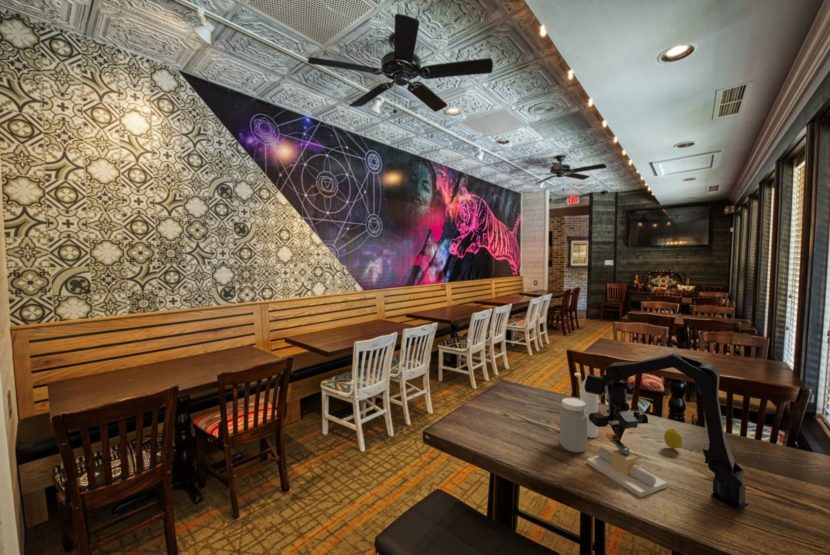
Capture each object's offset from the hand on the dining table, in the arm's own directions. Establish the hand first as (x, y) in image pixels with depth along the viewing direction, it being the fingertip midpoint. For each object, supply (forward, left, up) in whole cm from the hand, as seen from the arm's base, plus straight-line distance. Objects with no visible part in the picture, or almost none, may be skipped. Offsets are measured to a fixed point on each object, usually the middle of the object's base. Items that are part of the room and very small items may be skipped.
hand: (618, 441), depth 127 cm
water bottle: (+19, -5, -7) cm, 21 cm away
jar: (+13, +8, -7) cm, 17 cm away
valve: (-7, +6, -7) cm, 11 cm away
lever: (-2, +4, 0) cm, 4 cm away
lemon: (-3, -25, -7) cm, 26 cm away
